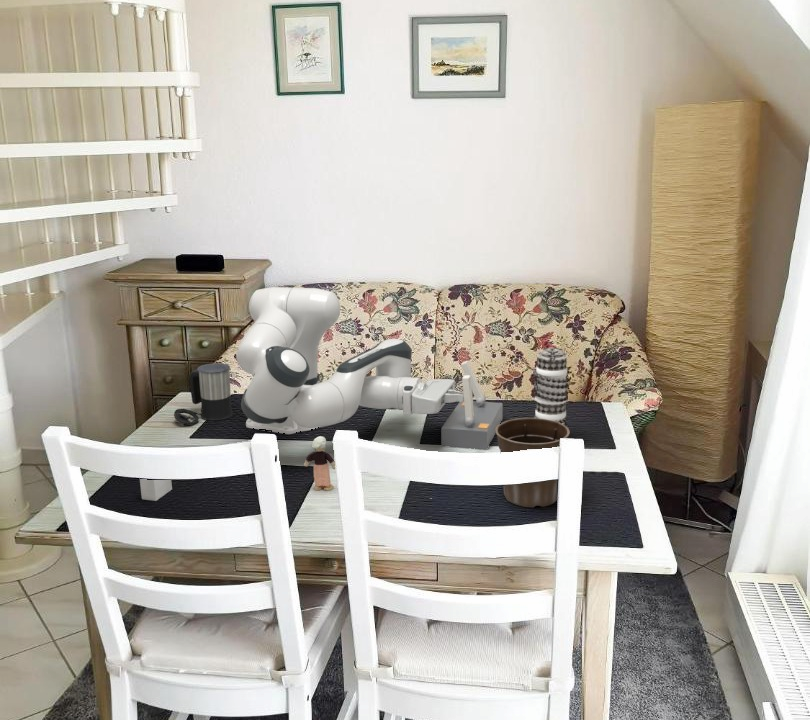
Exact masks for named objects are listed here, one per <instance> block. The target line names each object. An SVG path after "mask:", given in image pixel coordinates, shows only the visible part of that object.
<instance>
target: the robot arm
mask: <svg viewBox="0 0 810 720" xmlns="http://www.w3.org/2000/svg"><path fill="white" fill-rule="evenodd" d="M248 311H249V315H250V318H252V320H253V321H254V322H253V325H251V326H250V328H249V329H248V330H247V331H246V333H245V334H244V336H242V339H241V341H240V343H239V345H238V347H237V350H236V354H235V355H236V356H235V357H236V362H237V364H238V365H239V368H241V369H242V370H243V371H244V372H246V374H249V375H251V376H252V377H253V378H252V379H251V381H250V383H249V384H248V387H247V388H246V389H244V391H243V394H242V396H241V397H242V398H241V402H240V407H241V410H242V412H243V414H244V415H245V416H246V417H247V419H246V422H245V426H246V428H248V429H253V428H254V429H255V430H259V429H266V430H272V432H271V433H278V432H279V433H278V434H283V433H285V434H284V435H294V434H297V433H300V431H301V432H307V431H311V429H313V430H315V428H316V429H319V428H324V427H329V426H333V425H336V424H339V423H342V422H345V421H347V420H349V419H350V418H351V417H352V416H354V415H355V413H356V412H357V410H358V409H359V406H361V407H365V408H369V409H370V408H371V409H377V410H394V411H395V410H398V411H403V412H402V413H403V415H404V416H411V415H413V414H415V415H432V414H438V413H439V412H440V411H441V410H442V408H443V407H444V406H445V405H446V404H447V403H448V404H450V403H456V402H458V403H459V402H462V401H463V400H464V393H463V391H459V390H456V380H454V379H451V378H449V379H448V378H433V379H432V378H431V379H428V380H426V382H423V379H422V378H421V377H413V376H412V354H413V352H412V351H413V349H412V348H411V346H410V345H409V344H408V343H407V342H406V341H405V340H404V339H400V338H388V339H385V340H381V341H379V342H378V343H377V344H376V345H375V346H373V347H371V348H369V349H366V350H364V351H363V352H361V353H359V354H357V355H355V356H353V357H351V358H348V359H347V360H345V361H343V362H342V363H340V364H338V367H337V368H336V369H335V371H334V373H333V374H332V375H331V376H330V377H329V378H328V379H326V380H324V381H322V382H321V381H320V380H321V377H320V374H319V370H318V362H319V361H318V360H319V359H318V357H319V355H318V353H319V352H318V351H319V346H320V343H321V340H322V338H323V336H324V335H325V333H326V332H328V330H329V329H330V328H332V327H333V326H334V325H335V323H336V322H337V321H338V319H339V318H340V315H341V303H340V300H339V298H338V297H337V295H336V294H335V292H333V291H330V290H326V289H323V288H317V287H316V288H315V287H289V286H288V287H285V286H284V287H282V286H271V287H264V288H260V289H257V290H255V291H253V293H252V295H251V297H250V299H249V303H248ZM372 369H375V375H368V373H369V371H370V370H372ZM367 375H368V376H367ZM318 427H319V428H318ZM254 429H253V430H254ZM296 432H297V433H296Z"/></svg>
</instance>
